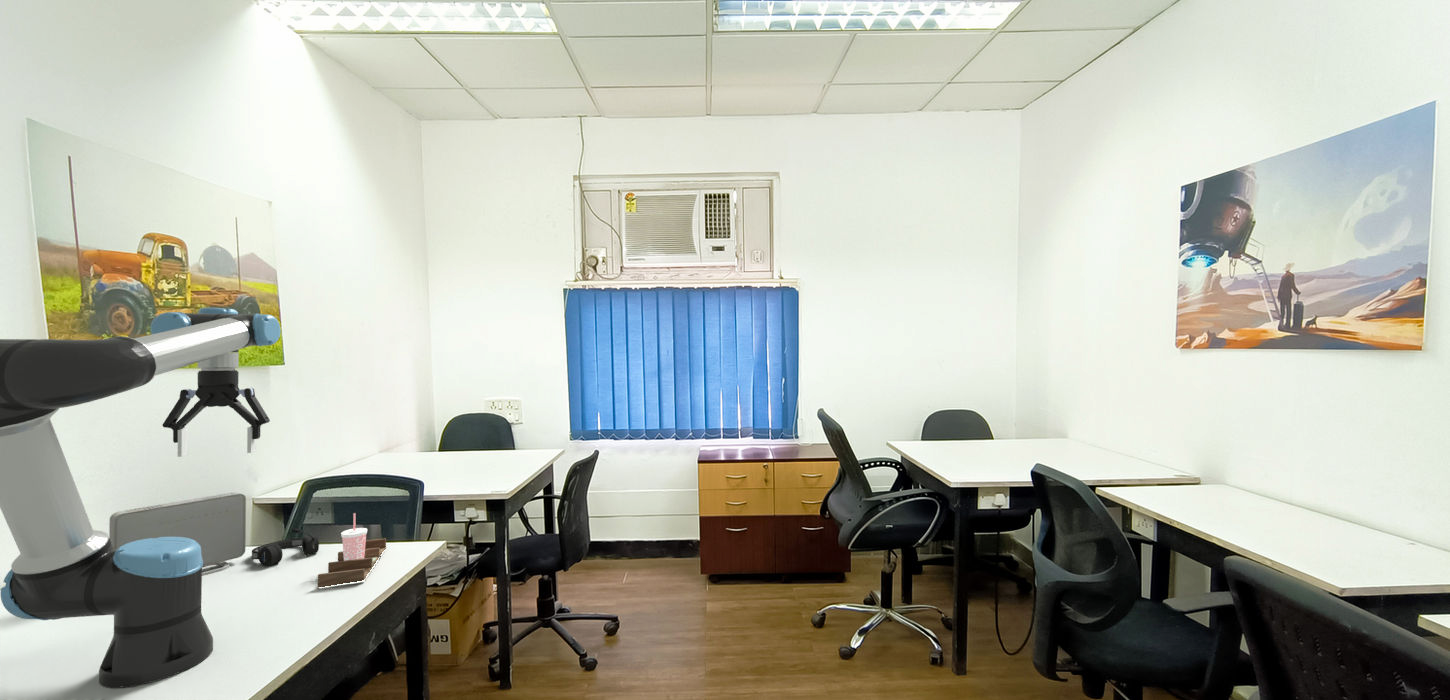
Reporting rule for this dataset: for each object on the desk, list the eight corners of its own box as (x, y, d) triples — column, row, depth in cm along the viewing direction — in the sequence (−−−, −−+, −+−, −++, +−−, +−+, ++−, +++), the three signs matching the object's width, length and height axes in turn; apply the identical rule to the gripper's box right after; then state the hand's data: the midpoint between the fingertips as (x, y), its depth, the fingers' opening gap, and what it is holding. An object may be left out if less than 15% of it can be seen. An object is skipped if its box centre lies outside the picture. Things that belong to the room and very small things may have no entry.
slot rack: (363, 582, 141) (363, 569, 141) (317, 589, 137) (317, 575, 137) (386, 549, 165) (386, 538, 165) (347, 554, 161) (347, 542, 161)
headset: (271, 534, 149) (243, 530, 159) (272, 569, 148) (244, 563, 158) (327, 521, 160) (297, 518, 171) (328, 554, 160) (298, 549, 170)
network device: (114, 598, 132) (115, 516, 132) (106, 590, 136) (106, 511, 136) (248, 563, 153) (248, 493, 154) (236, 557, 158) (237, 489, 158)
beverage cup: (345, 569, 146) (345, 517, 146) (337, 564, 150) (337, 513, 150) (370, 562, 151) (371, 512, 151) (362, 557, 155) (362, 508, 155)
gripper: (285, 368, 144) (284, 448, 143) (162, 369, 134) (162, 454, 134) (273, 369, 136) (272, 453, 136) (143, 370, 127) (142, 460, 127)
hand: (217, 454), depth 135 cm, fingers open, 13 cm apart
